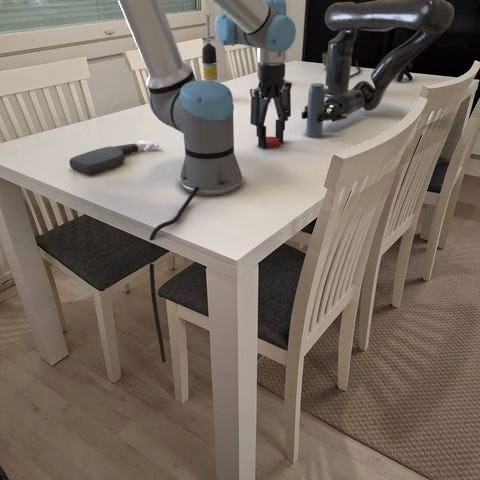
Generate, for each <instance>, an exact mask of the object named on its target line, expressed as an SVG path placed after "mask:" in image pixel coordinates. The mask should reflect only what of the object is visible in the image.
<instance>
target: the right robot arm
mask: <svg viewBox="0 0 480 480" xmlns="http://www.w3.org/2000/svg"><path fill="white" fill-rule="evenodd" d="M454 16H455V8H454V6H453V5H452V3H450V2H449V1H447V0H372V1H366V2H360V3H355V2H353V1H346V2H344V1H343V2H335V3H333V4H331V5H330V6H328V8H327V10H326V12H325V14H324V21H325V24H326V26H327V28H328V29H330V30H331V31H335V32H336V31H339V32H338V34H337V35H336V36H335V37H334V38H333V39H330V41H329V42H328V47H327V52H328V58H327V70H326V69H325V82H324V89H325V97H327V98H326V99H325V102H324V113H322V114H320V115H318V116H317V122H318V123H320V122H323V123H324V122H325V121H326V122H329V121H330V122H337V121H342V120H346V119H347V117H348V116H349V115H351V114H352V113H353V114H354V113H355V112H357V111H359V110H361V109H363V110H364V111H366V112H372V111H374V110H375V109H377V107H378V106H379V105H380V103H381V102H382V100H383V98H384V95H385V93H386V91H387V89H388V87H389V86H390V84H391V83H392V82H393V81H394V80H395V79H396V78H397V77H396V76H398V74H399V73H400V72H401V71H402V69H403V68H404V67H405V68H406V66H408V63H409V62H410V61H411V60H414V59H415V58H416V57H417V56H418V55H419V54H420V53H422V52H423V51H424V50H425V49H426V48H427V47H428V46H430V44H432V43H433V42H434V41H435V40H436V39H437V38H439V37H440V36H441V35H442V34H443V33H444V32H445V31H446V30H447V29H448V28H449V27H450V25H451V23H452V21H453V20H454ZM399 27H400V28H408V29H412V30H415V31H417V32H416V33H415V34H414V35H412V37H411V38H409V39H408V40H407V41H405V42H404V43H402V44H401V45H399V46H398V47H396V48H395V49H392V50H391V51H390V52H388V53H387V55H386V56H384V57H383V58H382V59H381V61H380V62H379V63H378V64H377V66H376V67H375V68H374V70H373V71H372V72H371V74H370V80H371V81H372V84H373V85H372V84H371V83H370V82H369V81H368V80H360V81H358V82H357V83H356V84H355V85H354V86H353V87H352V88H351V89H350V90H349V86H350V78H352V77H354V76H357V75H359V74H360V72H361V70H362V69H361V67H360V66H359V65H358V63H359V62H358V61H357V60H356V61H355V67H356V68H357V69H358V70H357V72H354V73H353V74H351V67H352V60H353V59H352V57H353V49H354V44H355V42H356V38H357V34H358V30H359V31H369V32H389V31H391V30H393V29H395V28H399ZM395 77H396V78H395ZM394 78H395V79H394ZM307 110H308V104H307V105H306V106H304V111H302V112H301V120H307Z"/></svg>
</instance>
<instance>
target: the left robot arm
mask: <svg viewBox="0 0 480 480" xmlns="http://www.w3.org/2000/svg"><path fill="white" fill-rule="evenodd" d="M117 1H118V4H119V7H120V8H121V11H122V13H123V16H124V18H125V20H126V24H127V25H128V28H129V30H130V33H131V34H132V38H133V40H134V42H135V45H136V47H137V49H138V52H139V55H140V56H141V59H142V62H143V63H144V66H145V69H146V71H147V73H148V77H147V80H146V83H145V85H146V87H147V89H148V93H149V94H148V104H149V107H150V110H151V111H152V113H153V115H154V116H155V117H156V118H157V119H158V120H159V121H160V122H161V123H163V124H164V125H166V126H169V127H171V128H172V129H174V130H176V131H178V132H180V133H182V134H183V143H184V154H185V155H184V158H183V164H182V168H181V171H180V177H179V183H180V184H179V185H180V188H181V189H182V191H184V192H186V193H187V194H189V196H188V197H187V198H186V200H185V201H184V203H183V205H182V206H181V208H180V209H179V210H178V212H177V213H176V215H175V217H173V218H172V219H170V220H167V221H165V222H162V223H160V224H158V225H157V226H156V227H155V228H154V229H153V230H152V232H151V234H150V236H149V239H148V240H149V241H153V240H154V239H155V238H156V236H157V234H158V232H159V231H161V230H162V229H164V228H166V227H169V226H172V225H174V224H175V223H176V222H178V220H180V218H181V217H182V215H183V213H184V212H185V210H186V209H187V207H188V205H189V204H190V203H191V202H192V200H193V198H194V197H195V196H199V197H221V196H224V195H229V194H232V193H234V192H235V191H237V190H239V189H240V188H241V187H242V185H243V174H242V171H241V168H240V165H239V163H238V160H237V157H236V154H235V132H234V131H235V130H234V127H235V126H234V110H235V106H234V100H233V98H234V97H233V94H232V91H231V89H230V88H229V87H228V86H227V85H225V84H223V83H221V82H218V81H215V82H210V81H208V80H204V79H203V80H197V79H196V76H195V73H194V70H193V68H192V66H191V65H190V64H188V63H186V62H184V61H183V59H182V55H181V53H180V50H179V48H178V44H177V41H176V39H175V36H174V33H173V30H172V28H171V25H170V22H169V20H168V17H167V14H166V11H165V9H164V6H163V3H162V0H117ZM209 2H211V3H212V4H213V5H215V6H216V7H217V9H219V10H220V11H221V12H220V13H219V14H218V15H217V16H216V18H215V22H214V30H215V36H216V39H217V40H218V42H219V43H220V45H222V46H235V45H241V46H242V45H243V46H245V47H246V46H247V47H251V48H256V49H257V50H256V53H257V55H256V59H257V62H258V64H257V79H258V85H257V86H256V87H255V88H250V90H249V93H250V94H249V95H250V119H249V120H250V122H249V123H250V125H252V126H255V128H256V130H255V131H256V137H257V145H258V148H261V149H264V150H265V149H267V148H266V137H267V126H266V125H265V122H266V117H267V114H268V109H269V104H270V103H271V101H272V99H273V104H274V107H275V110H276V115H277V118H278V119H275V136H274V137H277V138H279V144H284V131H285V130H286V122H288V120H289V118H290V117H291V116H292V100H291V98H292V97H291V92H292V91H291V90H292V86H293V83H292V82H289V81H286V80H285V81H284V80H283V78H285V77H286V64H285V61H286V51H288V50H289V49H290V48H291V47H292V45H293V44H294V41H295V40H296V35H297V29H296V25H295V22H294V20H293V19H292V18H291V17H289V16H288V15H287V2H286V0H209ZM155 281H156V280H155V264H154V263H152V262H151V263H150V262H149V283H150V295H151V302H152V311H153V317H154V322H155V327H156V333H157V339H158V344H159V351H160V358H161V362H162V363H166V353H165V352H166V351H165V347H164V341H163V334H162V329H161V328H162V327H161V322H160V317H159V311H158V310H159V309H158V302H157V293H156V283H155Z"/></svg>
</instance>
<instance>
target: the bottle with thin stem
mask: <svg viewBox="0 0 480 480" xmlns="http://www.w3.org/2000/svg"><path fill="white" fill-rule="evenodd" d="M210 17H211V14H204V18H205V27H206V29H205V30H206V31H205V33H206V39H207V40H206V42H207V43H206V45H204V46H202V49H201V50H202V51H201V52H202V54H201V55H202V57H201V58H202V61H201V63H202V71H203V72H202V73H203V74H202V75H203V80H205V81H210V82H216V80H218V64H216V63H218V61H217V48H216V47H215V46H214V45H212V43H210V42H211V40H210V39H211V31H210V29H211V28H210Z"/></svg>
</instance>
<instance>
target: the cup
mask: <svg viewBox="0 0 480 480" xmlns="http://www.w3.org/2000/svg"><path fill="white" fill-rule="evenodd" d="M327 58H328V51H324V52H322V64H323V66H324V68H325V71H326V70H327Z"/></svg>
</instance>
